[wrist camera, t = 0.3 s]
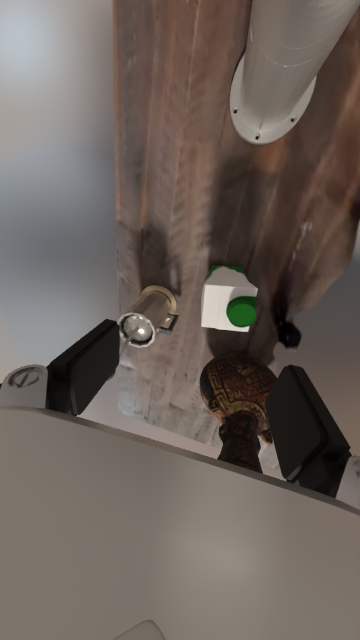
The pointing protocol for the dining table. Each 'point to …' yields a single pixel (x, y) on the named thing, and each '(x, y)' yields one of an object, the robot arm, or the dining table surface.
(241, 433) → the ceramic vessel
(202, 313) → the milk carton
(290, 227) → the dining table surface
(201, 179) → the dining table surface
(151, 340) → the white mug
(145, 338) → the ball-topped lever
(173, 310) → the cork coaster
